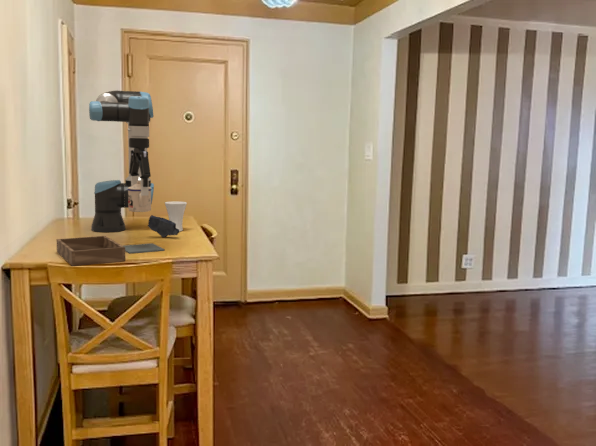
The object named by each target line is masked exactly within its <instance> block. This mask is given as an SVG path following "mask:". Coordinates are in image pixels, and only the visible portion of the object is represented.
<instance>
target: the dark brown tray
mask: <svg viewBox="0 0 596 446" xmlns="http://www.w3.org/2000/svg"><path fill="white" fill-rule="evenodd" d="M56 253H57V254H58V255H59V256H60V257H62V259H64V260H65V261H66V262H67V263H68V264H69V265H70V266H71V267H77V266H86V265H89V266H90V265H97V264H99V265H101V264H109V263H117V262H118V263H120V262H126V252H125V247H124V245H122V244H120V243H119V242H117V241H115V240H113V239H112V238H110V237H108V236H106V235H101V236H99V235H98V236H97V235H96V236H86V237H85V236H84V237H73V238H72V237H71V238H57V239H56Z"/></svg>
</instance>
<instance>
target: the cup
mask: <svg viewBox="0 0 596 446" xmlns="http://www.w3.org/2000/svg"><path fill="white" fill-rule="evenodd" d="M187 203H188V202H186V201H178V200H177V201H173V200H172V201H166V202H164V205H165V208H166V211H167V215H168V220H169V221H172V222H174V223H176V229H179V231H180V232H182V231H183V230H184V229H183V219H184V214H185V210H186V208H187V205H188V204H187Z"/></svg>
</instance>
